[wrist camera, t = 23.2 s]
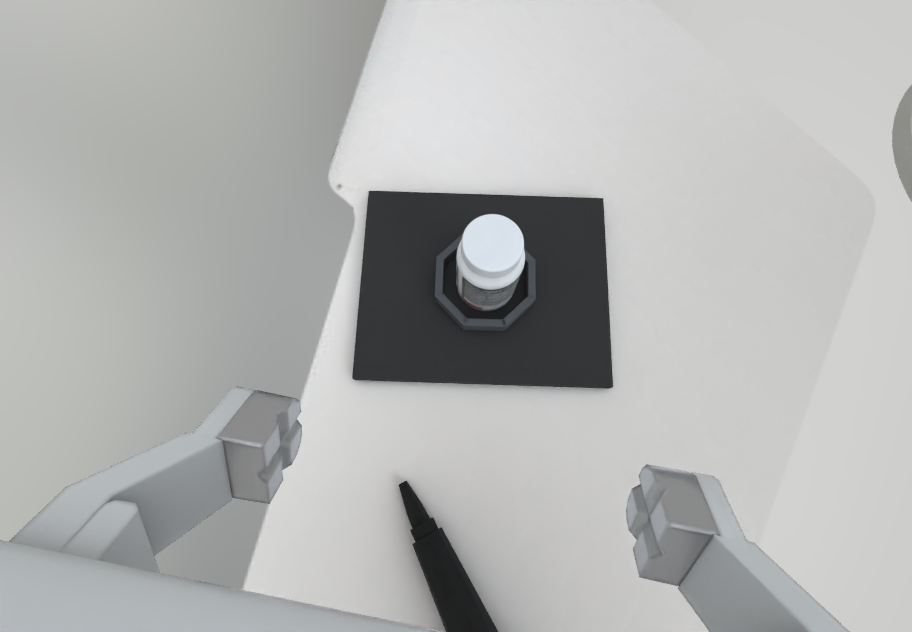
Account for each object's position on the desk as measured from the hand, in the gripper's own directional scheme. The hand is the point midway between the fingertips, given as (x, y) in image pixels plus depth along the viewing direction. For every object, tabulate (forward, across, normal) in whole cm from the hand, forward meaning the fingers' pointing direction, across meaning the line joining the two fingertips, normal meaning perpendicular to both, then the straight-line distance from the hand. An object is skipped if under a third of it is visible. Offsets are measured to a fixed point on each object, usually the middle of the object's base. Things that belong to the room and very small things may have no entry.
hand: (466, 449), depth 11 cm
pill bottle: (+26, 0, +8) cm, 27 cm away
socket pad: (+27, 0, +9) cm, 28 cm away
